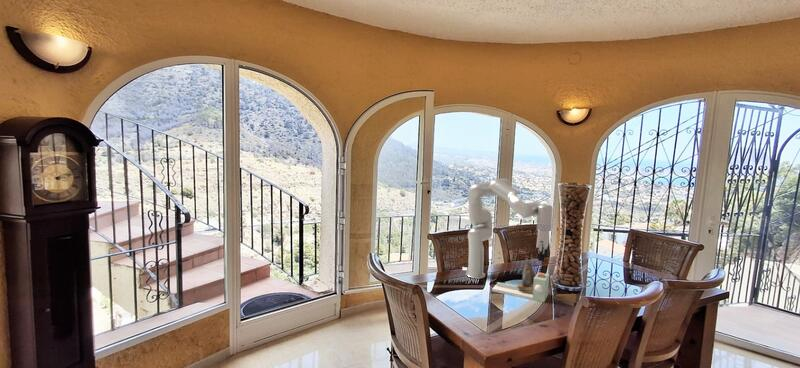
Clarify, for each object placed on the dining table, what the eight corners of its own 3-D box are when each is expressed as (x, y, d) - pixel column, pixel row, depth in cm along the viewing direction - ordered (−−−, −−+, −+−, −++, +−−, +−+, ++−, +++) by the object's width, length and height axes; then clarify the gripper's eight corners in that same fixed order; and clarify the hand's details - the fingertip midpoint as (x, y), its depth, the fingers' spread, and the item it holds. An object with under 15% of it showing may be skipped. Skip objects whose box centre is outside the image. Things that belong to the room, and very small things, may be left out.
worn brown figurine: (527, 290, 227) (524, 263, 223) (520, 287, 232) (517, 260, 228) (540, 283, 233) (538, 256, 229) (533, 280, 238) (530, 253, 233)
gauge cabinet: (532, 299, 207) (533, 278, 206) (536, 292, 218) (538, 272, 216) (544, 302, 204) (545, 280, 203) (548, 294, 215) (549, 274, 213)
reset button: (538, 279, 209) (538, 273, 209) (539, 277, 212) (539, 272, 211) (543, 280, 208) (543, 274, 208) (544, 278, 210) (544, 273, 210)
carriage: (517, 291, 214) (518, 273, 213) (519, 287, 219) (520, 270, 218) (531, 294, 210) (532, 276, 209) (534, 290, 215) (535, 273, 214)
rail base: (492, 291, 219) (492, 285, 218) (498, 284, 229) (498, 279, 229) (532, 299, 207) (532, 293, 207) (536, 292, 218) (537, 286, 217)
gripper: (539, 223, 216) (538, 254, 218) (533, 229, 201) (532, 261, 203) (554, 225, 212) (552, 256, 214) (548, 231, 197) (546, 264, 199)
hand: (542, 258), depth 209 cm, fingers open, 7 cm apart
